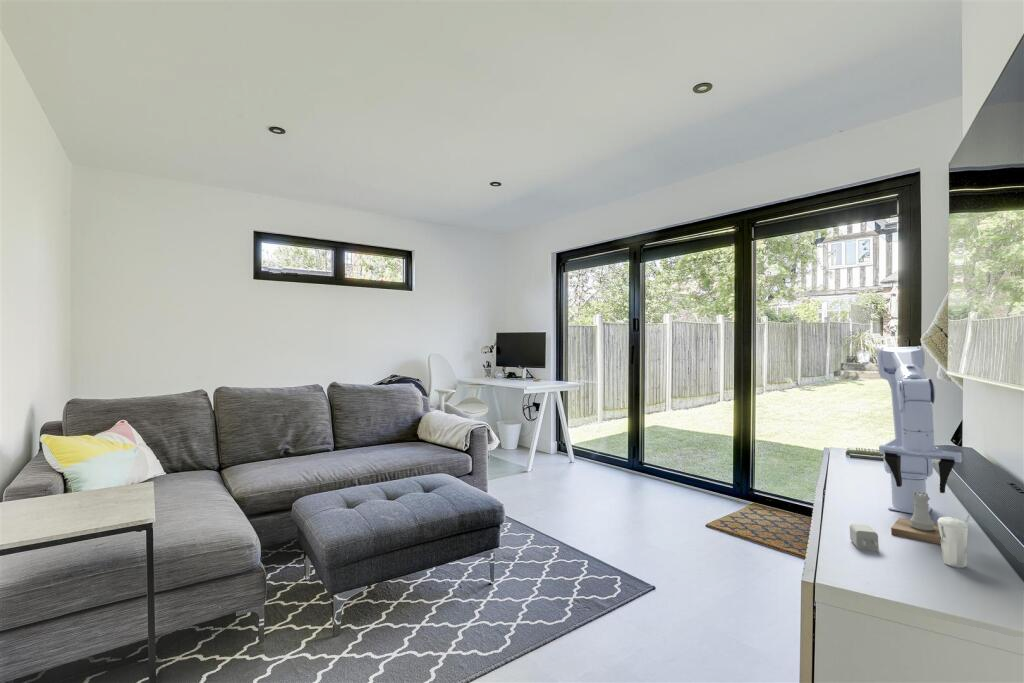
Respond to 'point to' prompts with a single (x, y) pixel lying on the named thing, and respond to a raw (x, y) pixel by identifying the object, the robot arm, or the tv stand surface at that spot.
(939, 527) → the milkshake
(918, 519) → the rook chess piece
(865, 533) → the usb wall charger
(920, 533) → the walnut plinth
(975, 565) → the tv stand surface
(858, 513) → the tv stand surface
